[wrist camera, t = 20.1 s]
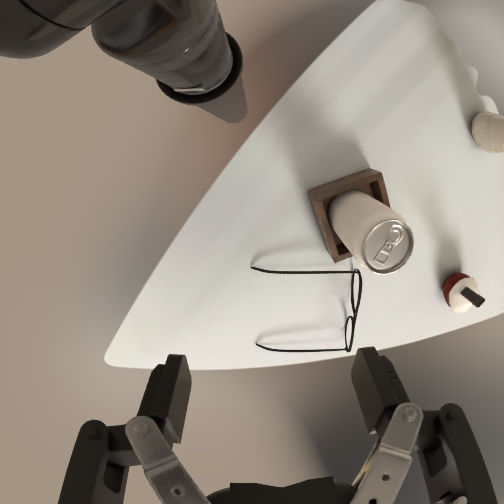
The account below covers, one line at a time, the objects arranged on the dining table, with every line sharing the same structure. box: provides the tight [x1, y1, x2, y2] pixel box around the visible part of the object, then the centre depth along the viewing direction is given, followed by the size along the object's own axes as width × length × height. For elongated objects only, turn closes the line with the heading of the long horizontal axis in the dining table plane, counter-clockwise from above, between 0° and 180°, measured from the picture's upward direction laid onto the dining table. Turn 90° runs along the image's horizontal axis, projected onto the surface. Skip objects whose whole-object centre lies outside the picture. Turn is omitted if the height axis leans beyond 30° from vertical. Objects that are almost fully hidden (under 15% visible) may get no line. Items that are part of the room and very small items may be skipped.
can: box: [328, 190, 414, 275], centre depth 30 cm, size 6×6×12 cm
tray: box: [308, 169, 391, 263], centre depth 34 cm, size 9×9×4 cm
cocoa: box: [443, 273, 485, 313], centre depth 35 cm, size 10×6×12 cm, turn 25°
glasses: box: [251, 267, 362, 352], centre depth 40 cm, size 14×15×5 cm
